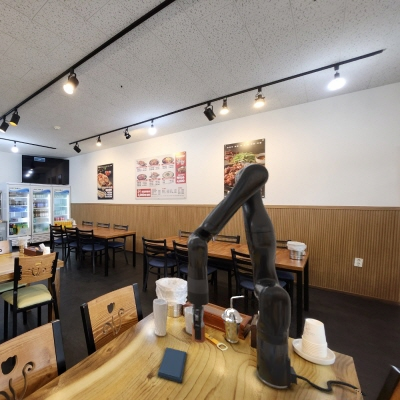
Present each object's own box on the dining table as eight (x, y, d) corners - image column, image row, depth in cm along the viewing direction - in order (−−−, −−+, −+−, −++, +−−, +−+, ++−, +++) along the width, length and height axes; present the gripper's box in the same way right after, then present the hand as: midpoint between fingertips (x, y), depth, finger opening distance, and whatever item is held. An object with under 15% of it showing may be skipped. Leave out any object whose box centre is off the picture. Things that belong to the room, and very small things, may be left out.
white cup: (203, 329, 110) (203, 309, 110) (199, 337, 103) (199, 315, 104) (187, 325, 114) (187, 305, 114) (182, 332, 108) (182, 311, 108)
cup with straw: (224, 332, 107) (224, 290, 108) (245, 339, 102) (245, 294, 102) (219, 341, 101) (218, 295, 101) (242, 349, 95) (241, 301, 96)
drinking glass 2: (166, 330, 110) (166, 298, 110) (168, 338, 103) (168, 304, 103) (152, 329, 110) (152, 298, 111) (153, 337, 104) (153, 304, 104)
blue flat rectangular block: (186, 354, 92) (186, 351, 92) (181, 383, 77) (181, 379, 77) (166, 349, 95) (166, 346, 95) (157, 376, 80) (157, 372, 80)
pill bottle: (205, 337, 86) (205, 320, 86) (205, 343, 81) (204, 326, 82) (192, 334, 87) (192, 318, 88) (191, 341, 83) (191, 324, 83)
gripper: (207, 297, 77) (209, 349, 76) (208, 284, 90) (209, 327, 90) (185, 294, 80) (185, 344, 79) (189, 282, 93) (189, 324, 92)
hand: (198, 335), depth 84 cm, fingers closed on pill bottle, 4 cm apart
